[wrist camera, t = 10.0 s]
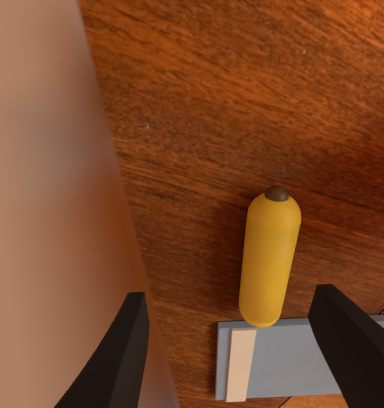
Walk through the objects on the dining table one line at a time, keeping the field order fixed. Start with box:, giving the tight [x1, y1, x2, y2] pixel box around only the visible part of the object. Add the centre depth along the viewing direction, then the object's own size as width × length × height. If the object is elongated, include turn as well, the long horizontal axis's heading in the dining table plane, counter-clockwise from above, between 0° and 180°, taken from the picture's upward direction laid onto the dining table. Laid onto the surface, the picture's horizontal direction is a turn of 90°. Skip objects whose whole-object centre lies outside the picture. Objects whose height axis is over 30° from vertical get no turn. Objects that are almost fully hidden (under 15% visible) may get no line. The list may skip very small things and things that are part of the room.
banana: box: [239, 186, 301, 328], centre depth 20 cm, size 14×4×4 cm, turn 1°
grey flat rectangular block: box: [215, 315, 384, 402], centre depth 29 cm, size 18×14×1 cm
